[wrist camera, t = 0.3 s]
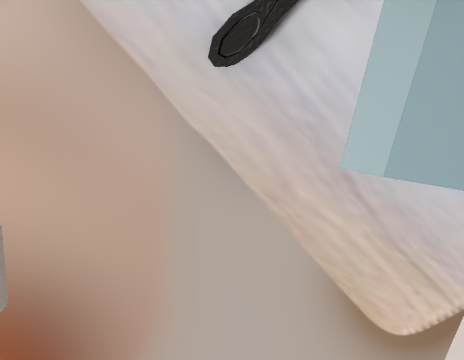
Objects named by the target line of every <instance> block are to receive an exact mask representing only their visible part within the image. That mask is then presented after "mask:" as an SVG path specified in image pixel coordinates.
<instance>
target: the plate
mask: <svg viewBox="0 0 464 360" xmlns="http://www.w3.org/2000/svg"><path fill="white" fill-rule="evenodd" d="M340 168H342V169H347V170H352V171H357V172H362V173H367V174H372V175H377V176H382V177H387V178H393V179H399V180H405V181H411V182H416V183H422V184H428V185H434V186H440V187H446V188H452V189H457V190H463V191H464V0H384V2H383V6H382V10H381V14H380V18H379V21H378V25H377V29H376V33H375V37H374V40H373V44H372V48H371V52H370V56H369V59H368V63H367V67H366V71H365V75H364V79H363V82H362V86H361V90H360V94H359V98H358V101H357V105H356V109H355V113H354V117H353V120H352V124H351V128H350V132H349V136H348V139H347V143H346V147H345V151H344V155H343V158H342V162H341V166H340Z"/></svg>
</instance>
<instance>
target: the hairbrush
mask: <svg viewBox="0 0 464 360" xmlns="http://www.w3.org/2000/svg"><path fill="white" fill-rule="evenodd" d="M277 1H278V0H255V1H253V2H251V3H250V4H248V5H247V6H245V7H244V8H242V9H240V10H239V11H237V12H236V13H234V14H232V16H231V17H230V18H229V19H228V20H227V21H226V22H225V24H224V25H223V26H222V27H221V28H220V29H219V30H218V32H217V33H216V34H215V35H214V36H213V38H212V42H211V47H210V51H209V55H208V58H209V59H210V61H211V62H212V64H213V65H214V66H215V67H222V66H223V67H228V66H231V65H235V64H237V63H238V62H240V61H241V60H243V59H244V58H246V57H247V56H248V55H249V54H251V53H252V52H253V51H254V50H255V49H256V48H257V47H258V46H259V45H260V44H261V43H262V41H263V40H264V39H265V37H266V36H267V35H268V34H269V33H270V31H271V30H272V29H273V27H274V26H275V25H276V23H277V22H278V21H279V19H280V18H281V17H282V16H283V15H284V14H285V13H286V12H287V11H288V10H289V9H290V8H291V7H292V6H293V5H294V4H295V3H296V2H297V1H298V0H281V1H280V2H279V3H278V4H277V6H276V8H275V9H274V11H273V12H272V14H271V16H270V17H269V19H268V21H267V22H266V24H265V25H264V27H263V29H262V30H261V32H260V33H259V34H258V35H257V36H256V34H257V33H258V31H259V30H260V28H261V27H262V25H263V24H264V22H265V21H266V19H267V18H268V16H269V14H270V13H271V11H272V9H273V8H274V6H275V4H276V3H277ZM254 12H256V13H260V14H253V15H251V16H249V17H247V18H245V19H243V18H244V17H246V16H248V15H250V14H252V13H254ZM241 19H243V20H242V21H240V20H241ZM239 21H240V22H239ZM238 22H239V23H238ZM237 23H238V24H237ZM236 24H237V25H236ZM235 25H236V26H235ZM234 26H235V27H234ZM233 27H234V29H233V30H232V31H231V32H230V33H229V31H230V30H231V29H232V28H233ZM228 33H229V34H228ZM227 34H228V36H227V37H226V38H225V36H226V35H227ZM255 36H256V37H255ZM224 38H225V39H224ZM254 38H255V39H254ZM223 39H224V40H223ZM253 39H254V40H253ZM252 40H253V41H252ZM251 41H252V42H251ZM222 42H223V44H222ZM250 42H251V43H250ZM249 43H250V44H249ZM248 44H249V45H248ZM247 45H248V46H247ZM221 46H222V47H221ZM246 46H247V48H246V49H245V50H244V51H242V52H240V53H238V52H239V51H240V50H241V49H243V48H244V47H246ZM220 50H221V51H220ZM220 53H221V54H223V55H224V56H229V55H232V54H235V53H238V54H236V55H233V56H231V57H229V58H227V57H224V56H222V55H220Z"/></svg>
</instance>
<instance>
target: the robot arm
mask: <svg viewBox="0 0 464 360" xmlns="http://www.w3.org/2000/svg"><path fill="white" fill-rule="evenodd" d="M6 287H7V286H6V275H5V263H4V250H3V237H2V225H0V312H1V311H2V310H3V309H4V308H5V307H6V305H7V304H8V299H7V288H6ZM445 360H464V317H463V319H462V322H461V324H460V327H459V329H458V331H457V333H456V336H455V338H454V340H453V342H452V345H451V347H450V349H449V351H448V354H447V356H446V358H445Z"/></svg>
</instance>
